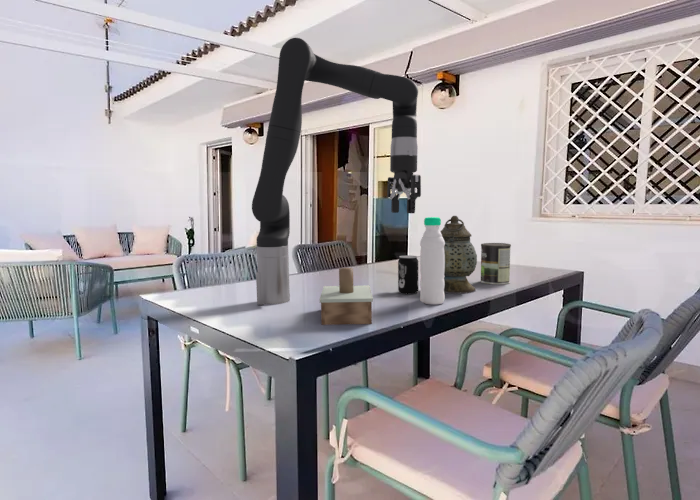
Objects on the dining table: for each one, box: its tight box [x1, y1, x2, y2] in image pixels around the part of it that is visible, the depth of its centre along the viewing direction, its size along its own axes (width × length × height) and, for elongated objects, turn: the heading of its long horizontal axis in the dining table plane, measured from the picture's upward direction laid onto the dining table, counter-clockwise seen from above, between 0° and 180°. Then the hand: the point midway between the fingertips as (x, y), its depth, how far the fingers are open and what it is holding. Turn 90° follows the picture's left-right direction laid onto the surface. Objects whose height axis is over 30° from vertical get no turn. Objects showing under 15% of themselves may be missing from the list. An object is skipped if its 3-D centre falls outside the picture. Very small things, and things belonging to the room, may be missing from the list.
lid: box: [319, 267, 374, 304], centre depth 108 cm, size 13×17×8 cm
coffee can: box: [480, 242, 512, 286], centre depth 155 cm, size 10×10×14 cm
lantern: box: [440, 215, 478, 295], centre depth 142 cm, size 14×14×25 cm
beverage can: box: [397, 254, 419, 295], centre depth 140 cm, size 7×7×12 cm
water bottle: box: [419, 216, 445, 306], centre depth 124 cm, size 7×7×25 cm
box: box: [320, 302, 373, 326], centre depth 109 cm, size 12×16×6 cm
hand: (402, 213), depth 121 cm, fingers open, 8 cm apart
